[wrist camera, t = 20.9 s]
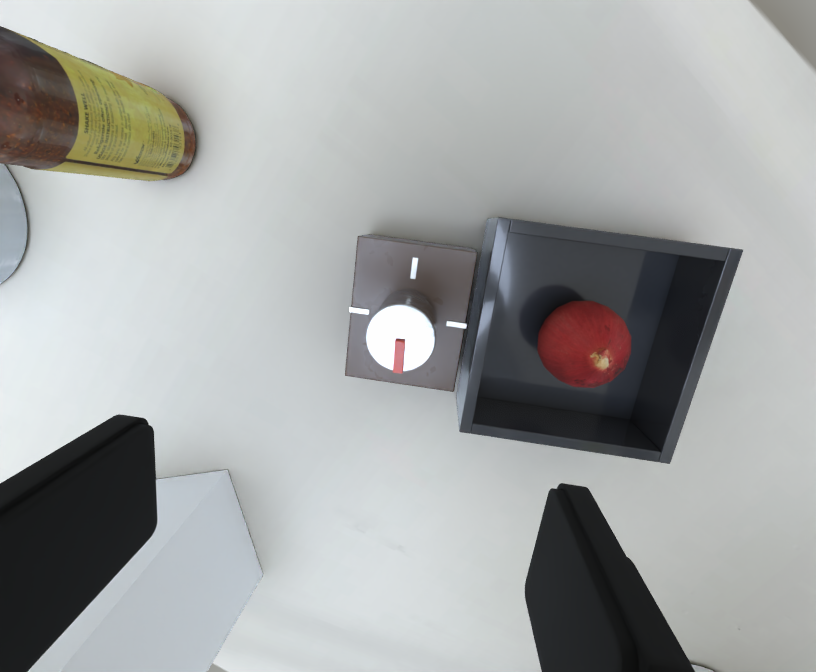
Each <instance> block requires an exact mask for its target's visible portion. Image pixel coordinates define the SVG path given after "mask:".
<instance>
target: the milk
mask: <svg viewBox="0 0 816 672" xmlns="http://www.w3.org/2000/svg"><path fill="white" fill-rule="evenodd" d="M156 495H157V518H158V520H157V526H156V529H155V531H154V533H153V535H152V536H151V538H150V539H149V540H148V541H147V542H146V543H145V544H144V545H143V547H142V548H141V549H140V550H139V551H138V552H137V553H136V554H135V555H134V556H133V557H132V559H131V560H130V561H129V562H128V563H127V564H126V565H125V566H124V567H123V568H122V569H121V570H120V572H119V573H118V574H117V575H116V576H115V577H114V578H113V579H112V580H111V581H110V582H109V584H108V585H107V586H106V587H105V588H104V589H103V590H102V591H101V592H100V593H99V594H98V596H97V597H96V598H95V599H94V600H93V601H92V602H91V603H90V604H89V605H88V606H87V607H86V609H85V610H84V611H83V612H82V613H81V614H80V615H79V616H78V617H77V618H76V619H75V621H74V622H73V623H72V624H71V625H70V626H69V627H68V628H67V629H66V630H65V631H64V633H63V634H62V635H61V636H60V637H59V638H58V639H57V640H56V641H55V642H54V643H53V644H52V646H51V647H50V648H49V649H48V650H47V651H46V652H45V653H44V654H43V655H42V656H41V658H40V659H39V660H38V661H37V662H36V663H35V664H34V665H33V666H32V667H31V668H30V669H29V671H28V672H207V671H208V669H209V668H210V666H211V664H212V662H213V661H214V659H215V657H216V656H217V654H218V652H219V650H220V649H221V647H222V645H223V643H224V642H225V640H226V638H227V636H228V635H229V633H230V631H231V630H232V628H233V626H234V624H235V623H236V621H237V619H238V617H239V616H240V614H241V612H242V610H243V609H244V607H245V605H246V604H247V602H248V600H249V598H250V597H251V595H252V593H253V591H254V590H255V588H256V586H257V584H258V583H259V581H260V579H261V578H262V576H263V572H262V569H261V567H260V564H259V561H258V558H257V555H256V552H255V549H254V546H253V543H252V540H251V537H250V534H249V531H248V528H247V525H246V522H245V520H244V517H243V514H242V511H241V508H240V505H239V502H238V499H237V496H236V493H235V490H234V487H233V484H232V481H231V478H230V475H229V473H228V470H221V471H214V472H207V473H199V474H192V475H184V476H177V477H170V478H162V479H156Z"/></svg>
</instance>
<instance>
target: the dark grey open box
mask: <svg viewBox="0 0 816 672" xmlns="http://www.w3.org/2000/svg"><path fill="white" fill-rule="evenodd" d="M742 252H743V250H742V249H734V248H727V247H719V246H711V245H704V244H696V243H689V242H681V241H674V240H666V239H659V238H651V237H644V236H636V235H628V234H621V233H613V232H606V231H598V230H591V229H583V228H576V227H568V226H561V225H553V224H546V223H538V222H530V221H523V220H515V219H508V218H500V217H497V218H488V219H487V223H486V229H485V235H484V240H483V246H482V252H481V258H480V263H479V269H478V275H477V280H476V286H475V292H474V298H473V303H472V309H471V315H470V321H469V326H468V332H467V338H466V344H465V349H464V355H463V361H462V367H461V372H460V378H459V384H458V390H457V395H456V400H457V411H458V422H459V432H464V433H471V434H477V435H484V436H491V437H497V438H504V439H510V440H517V441H523V442H530V443H536V444H543V445H550V446H556V447H563V448H569V449H576V450H582V451H589V452H595V453H602V454H609V455H615V456H622V457H628V458H635V459H641V460H648V461H654V462H661V463H667V464H670V462H671V459H672V456H673V453H674V450H675V448H676V445H677V442H678V439H679V436H680V433H681V430H682V427H683V424H684V421H685V418H686V415H687V413H688V410H689V407H690V404H691V401H692V398H693V395H694V392H695V389H696V386H697V383H698V381H699V378H700V375H701V372H702V369H703V366H704V363H705V360H706V357H707V354H708V351H709V348H710V346H711V343H712V340H713V337H714V334H715V331H716V328H717V325H718V322H719V319H720V316H721V313H722V311H723V308H724V305H725V302H726V299H727V296H728V293H729V290H730V287H731V284H732V281H733V278H734V276H735V273H736V270H737V267H738V264H739V261H740V258H741V255H742ZM571 301H594V302H597V303H599V304H602V305H605V306H607V307H609V308H610V309H611V310H613V311H614V312H615V313H616V314H617V315H618V316H620V317H621V318H622V319H623V320H624V322H625V324H626V326H627V328H628V331H629V333H630V335H631V354H630V357H629V359H628V362H627V364H626V367H625V369H624V370H623V371H622V372H621V373H620V374H619V375H618V376H617V377H615V378H614V379H613V380H612V381H611V382H608V383H605V384H603V385H600V386H597V387H594V388H586V387H573V386H571V385H568V384H566V383H564V382H562V381H559V380H558V379H557V378H556V377H554V376H553V375H552V374H551V373H550V372H549V371H548V370H547V369H546V368H545V367H544V366H543V363H542V361H541V359H540V356H539V354H538V350H537V346H538V332H539V330H540V328H541V327H542V325H543V323H544V321H545V319H546V318H547V317H548V316H549V315H550V314H551V313H552V312H553V311H554V310H555V309H556V308H558V307H560V306H562V305H564V304H567V303H569V302H571Z"/></svg>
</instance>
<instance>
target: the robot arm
mask: <svg viewBox="0 0 816 672" xmlns="http://www.w3.org/2000/svg"><path fill="white" fill-rule="evenodd" d="M157 520H158V518H157V495H156V472H155V448H154V431H153V428H152V427H151V426H149V425H148V422H147V420H146V419H144V418H139V417H133V416H126V415H116V416H113V417H112V418H110V419H108V420H107V421H105V422H103V423H102V424H100V425H98V426H97V427H95V428H93V429H92V430H90V431H88V432H86V433H85V434H83V435H81V436H80V437H78V438H76V439H75V440H73V441H71V442H70V443H68V444H66V445H65V446H63V447H61V448H59V449H58V450H56V451H54V452H53V453H51V454H49V455H48V456H46V457H44V458H43V459H41V460H39V461H38V462H36V463H34V464H32V465H31V466H29V467H27V468H26V469H24V470H22V471H21V472H19V473H17V474H16V475H14V476H12V477H11V478H9V479H7V480H6V481H4V482H2V483H0V672H28V671H29V669H30V668H31V667H32V666H33V665H34V664H35V663H36V662H37V661H38V660H39V659H40V658H41V656H42V655H43V654H44V653H45V652H46V651H47V650H48V649H49V648H50V647H51V646H52V644H53V643H54V642H55V641H56V640H57V639H58V638H59V637H60V636H61V635H62V634H63V633H64V631H65V630H66V629H67V628H68V627H69V626H70V625H71V624H72V623H73V622H74V621H75V619H76V618H77V617H78V616H79V615H80V614H81V613H82V612H83V611H84V610H85V609H86V607H87V606H88V605H89V604H90V603H91V602H92V601H93V600H94V599H95V598H96V597H97V596H98V594H99V593H100V592H101V591H102V590H103V589H104V588H105V587H106V586H107V585H108V584H109V582H110V581H111V580H112V579H113V578H114V577H115V576H116V575H117V574H118V573H119V572H120V570H121V569H122V568H123V567H124V566H125V565H126V564H127V563H128V562H129V561H130V560H131V559H132V557H133V556H134V555H135V554H136V553H137V552H138V551H139V550H140V549H141V548H142V547H143V545H144V544H145V543H146V542H147V541H148V540H149V539H150V538H151V536H152V535H153V533H154V531H155V529H156V526H157ZM525 599H526V604H527V608H528V613H529V617H530V621H531V626H532V630H533V635H534V639H535V643H536V648H537V652H538V657H539V661H540V665H541V670H542V672H714V671H712V670H710V669H707V668H704V667H701V666H697V665H691V663H690V662H689V660H688V658H687V656H686V655H685V653H684V651H683V649H682V648H681V646H680V644H679V642H678V641H677V639H676V637H675V635H674V634H673V632H672V630H671V628H670V627H669V625H668V623H667V621H666V619H665V618H664V616H663V614H662V612H661V611H660V609H659V607H658V605H657V604H656V602H655V600H654V598H653V597H652V595H651V593H650V591H649V590H648V588H647V586H646V584H645V583H644V581H643V579H642V577H641V576H640V574H639V572H638V570H637V568H636V567H635V565H634V564H633V562H632V561H631V560H630V559H629V558H628V557H626V555H625V553H624V551H623V550H622V548H621V546H620V544H619V542H618V541H617V539H616V537H615V535H614V533H613V532H612V530H611V528H610V526H609V524H608V523H607V521H606V519H605V517H604V516H603V514H602V512H601V510H600V508H599V507H598V505H597V503H596V501H595V499H594V498H593V496H592V494H591V492H590V491H589V489H588V488H586V487H582V486H576V485H569V484H563V483H561V484H559V486H558V487H557V489H550V491H549V493H548V497H547V501H546V505H545V509H544V512H543V516H542V520H541V524H540V528H539V532H538V536H537V540H536V543H535V547H534V551H533V555H532V559H531V563H530V567H529V571H528V575H527V578H526V583H525Z"/></svg>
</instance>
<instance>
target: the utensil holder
mask: <svg viewBox="0 0 816 672" xmlns="http://www.w3.org/2000/svg"><path fill="white" fill-rule="evenodd" d="M26 241H27V219H26V212H25V208H24V204H23V200H22V197H21V194H20V192H19V189H18V187H17V185H16V183H15V181H14V179H13V177H12V175H11V174H10V172H9V170H8V169H7V167H6V166H5V165H4V164H1V163H0V284H1V283H2V282H3V281H5V280H6V279H7V278H8V277H9V276H10V275H11V274H12V273H13V272H14V271H15V269H16V268H17V266H18V264H19V262H20V260H21V259H22V256H23V253H24V251H25V247H26Z"/></svg>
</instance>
